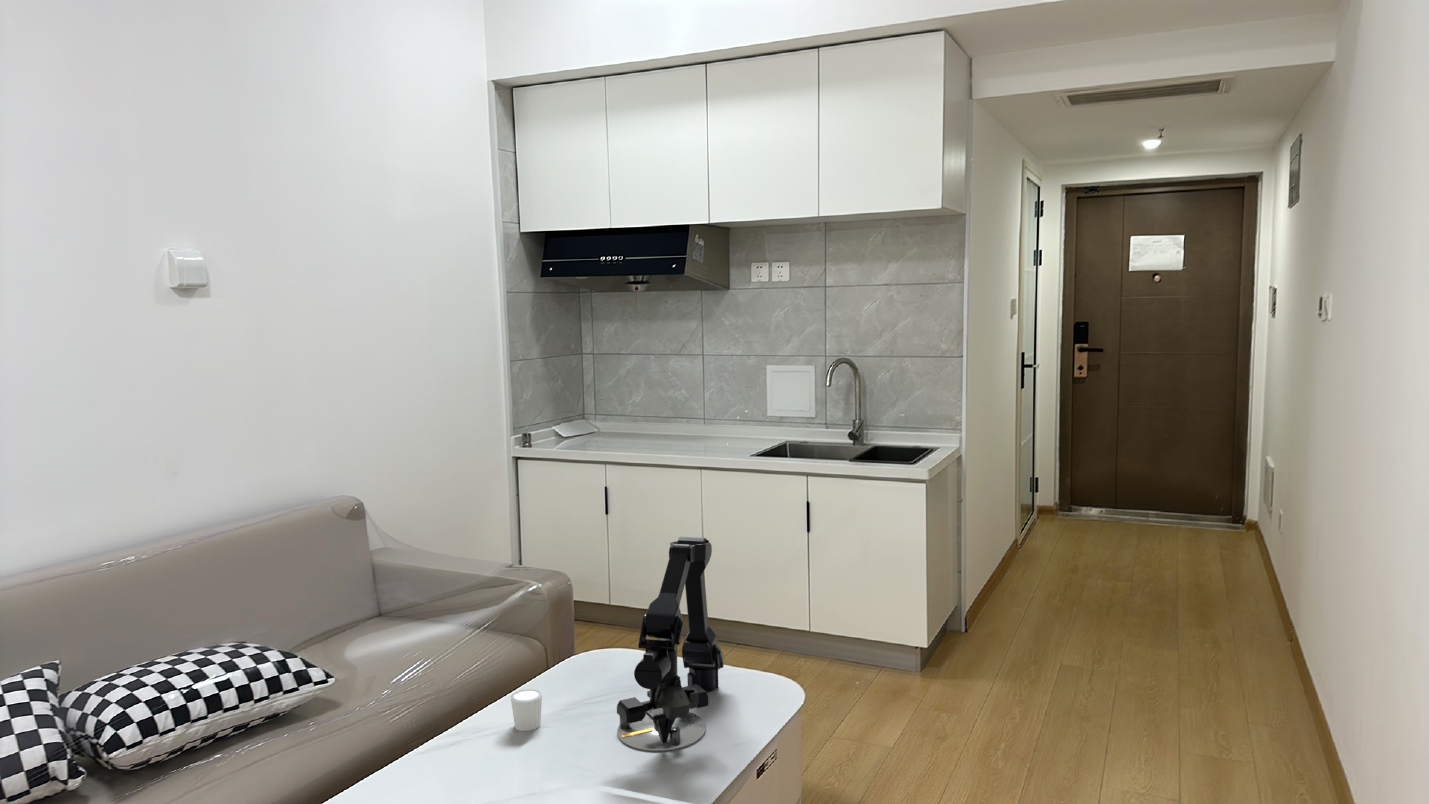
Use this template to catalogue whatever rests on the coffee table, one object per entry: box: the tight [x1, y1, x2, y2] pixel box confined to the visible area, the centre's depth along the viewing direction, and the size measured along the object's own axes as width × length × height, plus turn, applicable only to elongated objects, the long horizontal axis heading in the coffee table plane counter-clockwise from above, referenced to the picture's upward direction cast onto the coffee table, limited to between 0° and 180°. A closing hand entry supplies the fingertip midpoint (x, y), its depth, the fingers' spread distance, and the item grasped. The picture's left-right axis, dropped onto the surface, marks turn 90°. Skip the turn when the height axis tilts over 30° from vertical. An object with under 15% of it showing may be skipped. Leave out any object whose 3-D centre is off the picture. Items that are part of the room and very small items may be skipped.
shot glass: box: [510, 688, 543, 732], centre depth 208 cm, size 7×7×7 cm
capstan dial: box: [617, 711, 707, 752], centre depth 203 cm, size 19×19×4 cm
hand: (663, 742), depth 194 cm, fingers closed
